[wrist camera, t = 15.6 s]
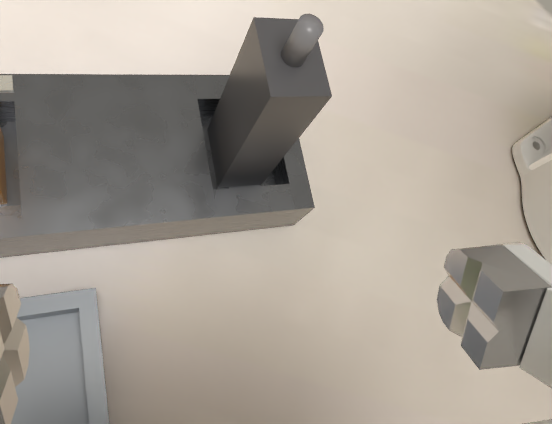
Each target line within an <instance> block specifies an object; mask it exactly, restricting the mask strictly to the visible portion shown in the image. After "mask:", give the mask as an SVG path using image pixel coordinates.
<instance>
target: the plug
mask: <svg viewBox="0 0 552 424" xmlns="http://www.w3.org/2000/svg"><path fill="white" fill-rule="evenodd" d="M0 204H7V187H6V170H5V152H4V136H3V133H2V131H1V128H0Z"/></svg>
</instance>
